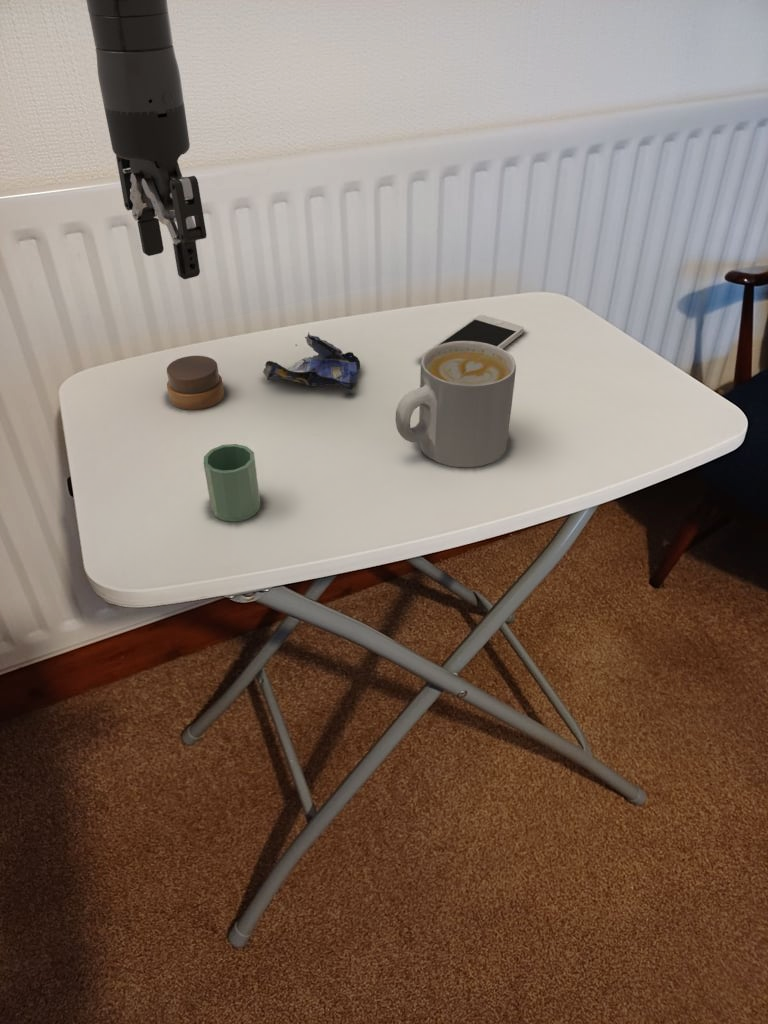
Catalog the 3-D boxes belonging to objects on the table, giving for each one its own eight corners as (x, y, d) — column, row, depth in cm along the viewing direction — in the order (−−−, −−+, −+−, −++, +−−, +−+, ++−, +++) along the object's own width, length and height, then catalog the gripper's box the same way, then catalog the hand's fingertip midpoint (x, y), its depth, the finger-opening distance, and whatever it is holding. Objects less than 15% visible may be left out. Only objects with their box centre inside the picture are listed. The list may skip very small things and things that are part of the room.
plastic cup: (245, 526, 77) (238, 476, 73) (203, 515, 78) (194, 466, 74) (268, 498, 80) (263, 449, 76) (227, 488, 82) (220, 440, 78)
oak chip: (206, 414, 93) (203, 399, 92) (158, 404, 95) (155, 389, 94) (234, 388, 98) (232, 374, 96) (188, 378, 100) (186, 364, 98)
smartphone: (524, 332, 110) (525, 325, 109) (467, 376, 100) (468, 369, 99) (479, 319, 113) (480, 313, 112) (421, 361, 103) (421, 354, 102)
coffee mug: (485, 412, 93) (492, 335, 87) (522, 458, 86) (532, 377, 80) (377, 432, 90) (377, 352, 84) (406, 480, 83) (408, 398, 76)
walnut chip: (202, 398, 92) (200, 383, 91) (159, 388, 94) (156, 373, 92) (228, 374, 96) (226, 360, 95) (186, 366, 98) (184, 351, 97)
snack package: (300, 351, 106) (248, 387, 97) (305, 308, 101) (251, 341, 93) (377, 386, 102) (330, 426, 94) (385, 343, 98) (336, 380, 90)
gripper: (77, 93, 78) (111, 254, 88) (139, 118, 69) (169, 294, 79) (147, 84, 82) (172, 240, 92) (214, 107, 73) (234, 276, 83)
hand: (171, 265), depth 86 cm, fingers open, 8 cm apart
